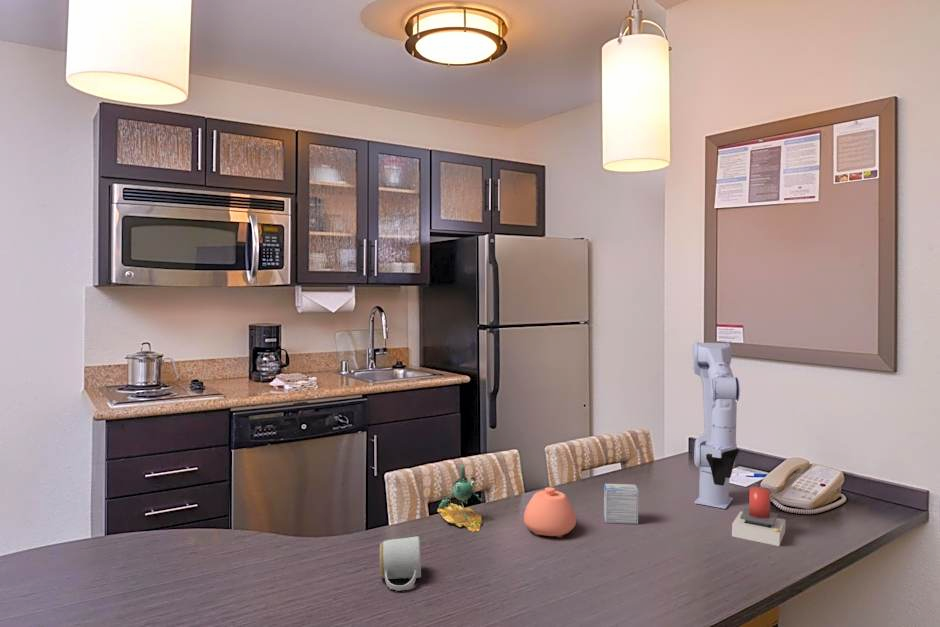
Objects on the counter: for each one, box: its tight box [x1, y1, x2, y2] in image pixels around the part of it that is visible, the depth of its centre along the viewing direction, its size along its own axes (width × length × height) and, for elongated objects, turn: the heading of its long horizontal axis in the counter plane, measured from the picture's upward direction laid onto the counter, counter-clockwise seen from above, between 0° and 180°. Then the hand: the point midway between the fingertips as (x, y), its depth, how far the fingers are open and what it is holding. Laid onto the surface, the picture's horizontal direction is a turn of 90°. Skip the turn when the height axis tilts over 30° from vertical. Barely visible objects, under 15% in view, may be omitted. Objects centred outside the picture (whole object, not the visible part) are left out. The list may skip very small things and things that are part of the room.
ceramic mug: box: [379, 536, 422, 590], centre depth 125 cm, size 11×8×8 cm
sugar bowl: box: [523, 486, 577, 538], centre depth 151 cm, size 12×14×10 cm
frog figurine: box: [436, 464, 483, 532], centre depth 157 cm, size 10×18×15 cm, turn 26°
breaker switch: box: [740, 507, 779, 528], centre depth 149 cm, size 7×7×4 cm
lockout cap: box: [748, 486, 771, 518], centre depth 149 cm, size 4×4×6 cm
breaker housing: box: [731, 510, 787, 547], centre depth 149 cm, size 10×10×4 cm
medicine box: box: [603, 483, 640, 525], centre depth 157 cm, size 8×4×9 cm, turn 84°
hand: (722, 480), depth 156 cm, fingers open, 7 cm apart
